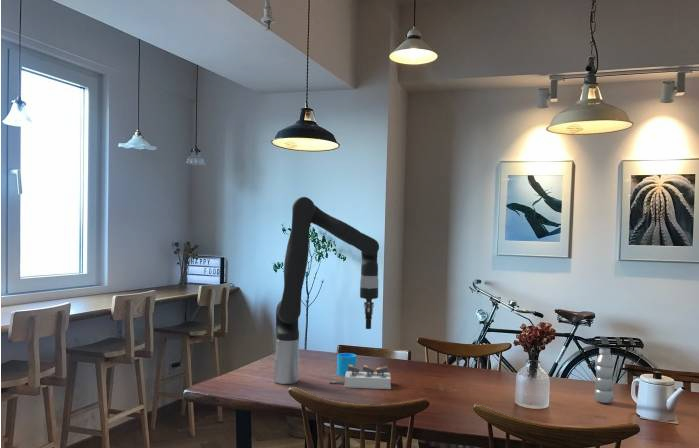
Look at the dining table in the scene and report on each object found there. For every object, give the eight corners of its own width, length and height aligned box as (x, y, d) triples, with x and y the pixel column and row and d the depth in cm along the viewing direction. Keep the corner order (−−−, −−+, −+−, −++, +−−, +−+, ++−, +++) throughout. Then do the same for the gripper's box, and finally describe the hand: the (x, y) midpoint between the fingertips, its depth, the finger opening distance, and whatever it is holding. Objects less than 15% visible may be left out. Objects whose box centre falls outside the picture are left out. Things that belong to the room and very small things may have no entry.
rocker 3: (377, 374, 214) (376, 369, 214) (377, 372, 217) (376, 368, 217) (388, 371, 214) (387, 367, 214) (388, 369, 217) (387, 365, 217)
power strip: (328, 386, 211) (328, 374, 211) (330, 380, 220) (330, 368, 220) (390, 389, 210) (391, 376, 210) (390, 382, 219) (390, 370, 219)
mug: (353, 377, 226) (353, 357, 226) (334, 375, 228) (335, 356, 228) (359, 370, 238) (360, 352, 238) (341, 369, 240) (342, 350, 240)
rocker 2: (362, 370, 215) (363, 366, 215) (362, 368, 218) (363, 364, 218) (373, 373, 214) (374, 369, 214) (373, 371, 217) (374, 367, 217)
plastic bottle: (596, 398, 203) (597, 345, 204) (615, 402, 199) (616, 348, 199) (591, 402, 198) (592, 348, 199) (611, 406, 194) (612, 351, 194)
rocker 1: (347, 370, 215) (348, 366, 215) (347, 368, 218) (349, 364, 218) (358, 373, 215) (359, 369, 215) (358, 371, 218) (359, 367, 218)
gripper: (360, 284, 227) (359, 325, 227) (359, 287, 214) (358, 331, 213) (378, 285, 227) (377, 326, 226) (378, 288, 213) (377, 331, 213)
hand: (368, 328), depth 220 cm, fingers closed
